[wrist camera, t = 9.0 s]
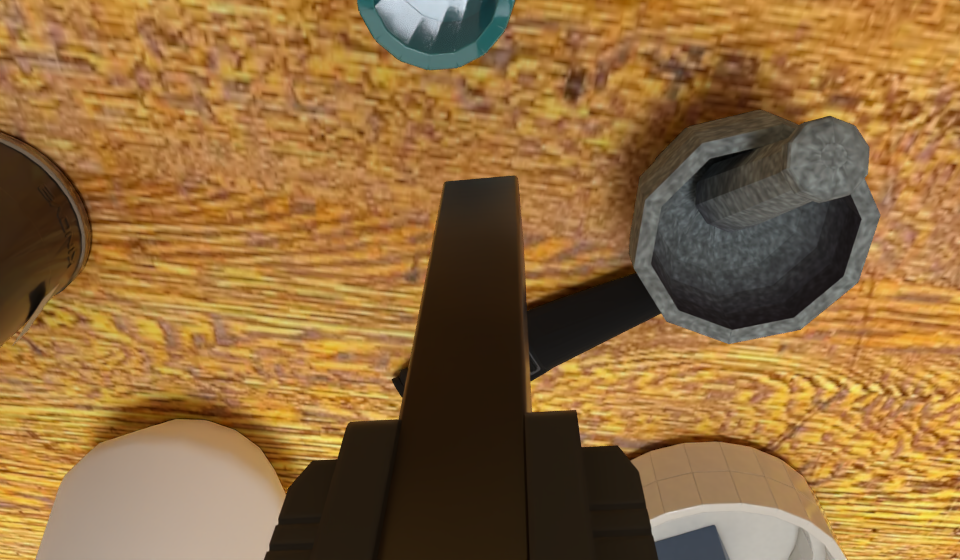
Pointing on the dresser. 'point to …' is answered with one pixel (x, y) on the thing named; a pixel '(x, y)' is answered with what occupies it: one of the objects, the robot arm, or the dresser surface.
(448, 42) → the cup
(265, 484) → the cup
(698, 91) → the dresser surface
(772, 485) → the bowl
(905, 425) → the dresser surface
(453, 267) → the stick
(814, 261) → the mortar and pestle
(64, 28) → the dresser surface
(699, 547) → the block
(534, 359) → the electric trimmer
